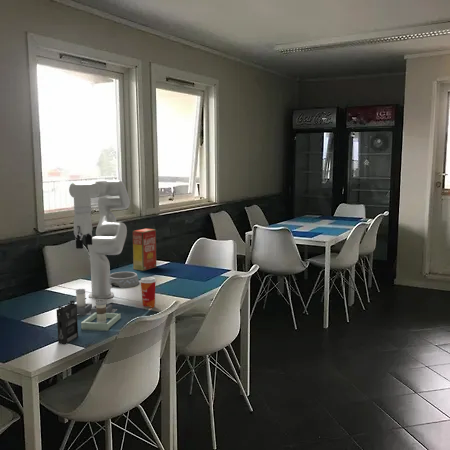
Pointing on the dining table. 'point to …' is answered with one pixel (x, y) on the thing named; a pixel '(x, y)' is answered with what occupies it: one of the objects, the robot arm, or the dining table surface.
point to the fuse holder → (93, 309)
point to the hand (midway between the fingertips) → (84, 246)
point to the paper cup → (148, 291)
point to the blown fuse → (101, 311)
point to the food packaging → (144, 249)
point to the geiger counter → (67, 323)
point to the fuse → (80, 298)
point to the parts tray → (100, 326)
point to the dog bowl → (124, 279)
